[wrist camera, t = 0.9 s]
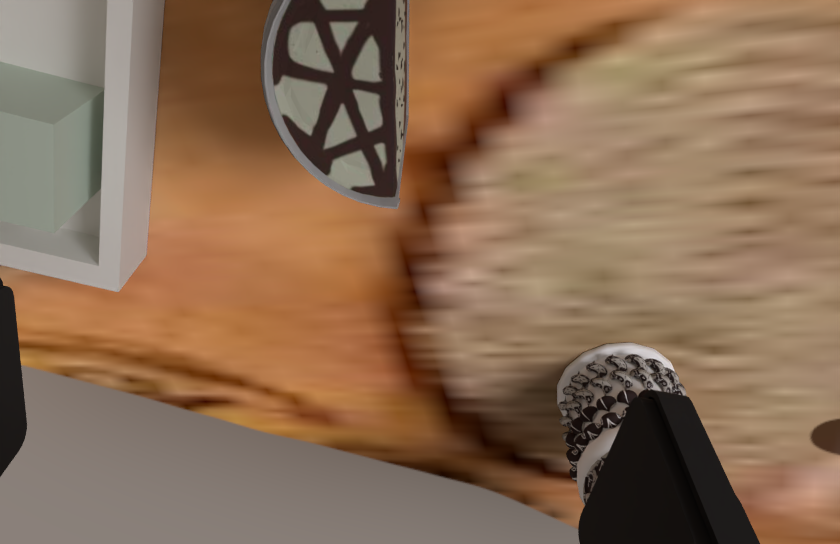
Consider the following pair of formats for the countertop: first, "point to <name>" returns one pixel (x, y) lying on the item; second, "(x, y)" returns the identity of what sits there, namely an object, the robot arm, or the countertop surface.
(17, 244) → the white tray
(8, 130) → the sage block
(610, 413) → the decorative candle
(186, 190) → the countertop surface
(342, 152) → the food container
